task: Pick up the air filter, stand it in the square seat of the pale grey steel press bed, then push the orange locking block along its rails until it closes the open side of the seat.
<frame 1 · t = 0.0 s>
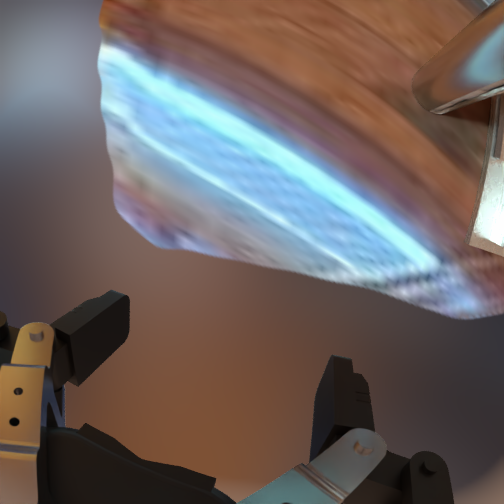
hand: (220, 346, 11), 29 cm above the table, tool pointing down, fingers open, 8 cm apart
air filter: (433, 90, 31), on the table
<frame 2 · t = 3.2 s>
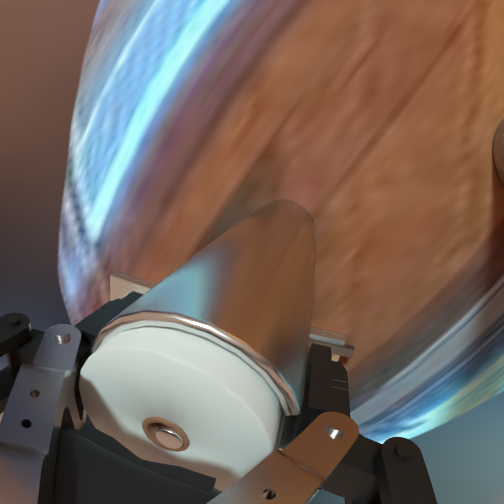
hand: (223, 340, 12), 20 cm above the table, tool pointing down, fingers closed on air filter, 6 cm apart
press bed: (215, 368, 36), on the table
air filter: (282, 232, 31), on the table, touching gripper
when the fingers open (23 cm above the table, at t = 9.4 s): air filter drops 2 cm, resting on press bed.
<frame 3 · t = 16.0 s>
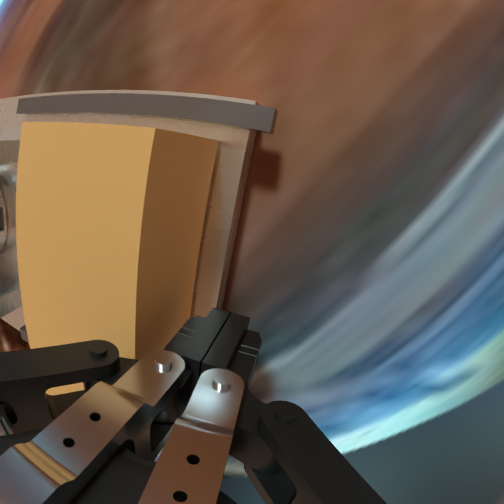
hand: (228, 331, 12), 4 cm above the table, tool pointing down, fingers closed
locking block: (108, 294, 13), point 5 cm above the table, slide at 0.5 cm, touching gripper
press bed: (48, 229, 18), on the table
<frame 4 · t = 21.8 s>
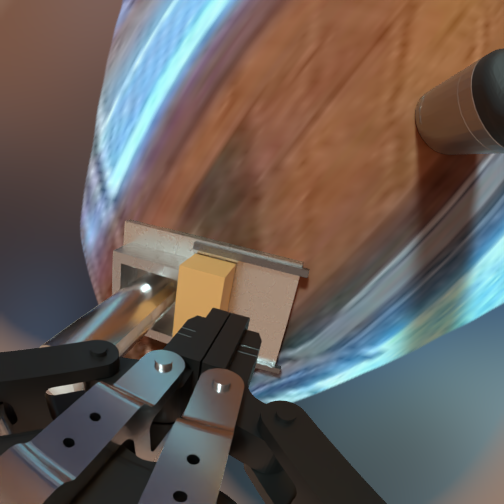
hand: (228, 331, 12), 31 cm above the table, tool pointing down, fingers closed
locking block: (202, 311, 43), point 5 cm above the table, slide at 8.0 cm
press bed: (204, 296, 48), on the table
air filter: (162, 287, 47), point 1 cm above the table, touching press bed
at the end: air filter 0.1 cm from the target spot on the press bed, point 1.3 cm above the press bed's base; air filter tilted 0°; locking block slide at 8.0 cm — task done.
